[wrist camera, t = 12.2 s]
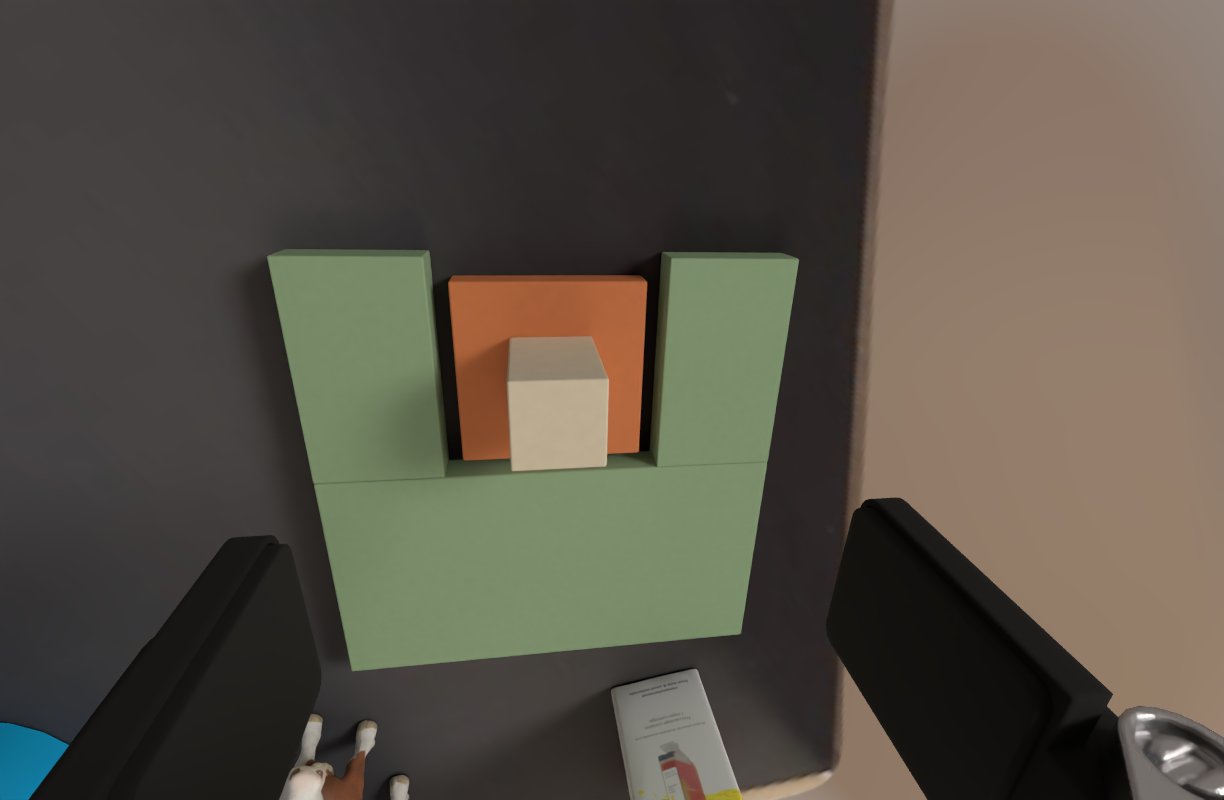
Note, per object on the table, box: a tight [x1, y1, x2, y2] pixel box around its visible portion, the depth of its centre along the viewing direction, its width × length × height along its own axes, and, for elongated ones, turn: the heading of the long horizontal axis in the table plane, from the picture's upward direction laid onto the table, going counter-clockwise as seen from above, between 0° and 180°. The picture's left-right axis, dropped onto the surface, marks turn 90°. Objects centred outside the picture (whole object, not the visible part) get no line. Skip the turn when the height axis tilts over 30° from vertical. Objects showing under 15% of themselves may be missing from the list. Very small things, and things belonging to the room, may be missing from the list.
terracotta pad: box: [448, 275, 647, 471], centre depth 20 cm, size 7×7×6 cm
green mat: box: [267, 249, 799, 671], centre depth 23 cm, size 18×18×2 cm
